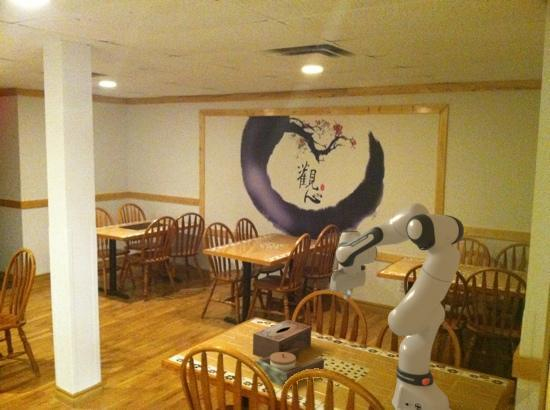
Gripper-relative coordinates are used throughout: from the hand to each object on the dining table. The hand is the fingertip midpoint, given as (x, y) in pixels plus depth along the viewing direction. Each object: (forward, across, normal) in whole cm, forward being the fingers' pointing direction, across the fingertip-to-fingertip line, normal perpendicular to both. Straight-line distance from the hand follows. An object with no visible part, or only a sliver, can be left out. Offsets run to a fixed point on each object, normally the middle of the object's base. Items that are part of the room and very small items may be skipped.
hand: (347, 298), depth 215 cm
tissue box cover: (+30, -12, +27) cm, 42 cm away
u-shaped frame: (+29, -24, +9) cm, 39 cm away
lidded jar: (+29, -30, +8) cm, 43 cm away
